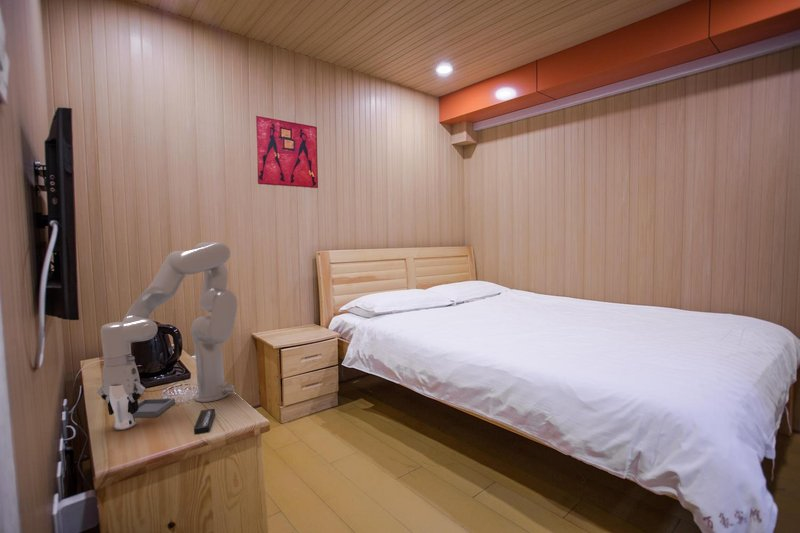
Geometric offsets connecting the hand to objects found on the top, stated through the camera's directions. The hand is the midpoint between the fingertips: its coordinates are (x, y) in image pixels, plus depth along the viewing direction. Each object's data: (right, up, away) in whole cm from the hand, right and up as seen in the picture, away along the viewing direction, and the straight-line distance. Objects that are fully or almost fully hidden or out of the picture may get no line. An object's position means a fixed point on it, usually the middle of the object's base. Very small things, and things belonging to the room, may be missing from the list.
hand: (123, 412), depth 140 cm
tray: (+1, -4, +13) cm, 14 cm away
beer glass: (0, -5, 0) cm, 5 cm away
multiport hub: (+27, -5, +1) cm, 27 cm away
